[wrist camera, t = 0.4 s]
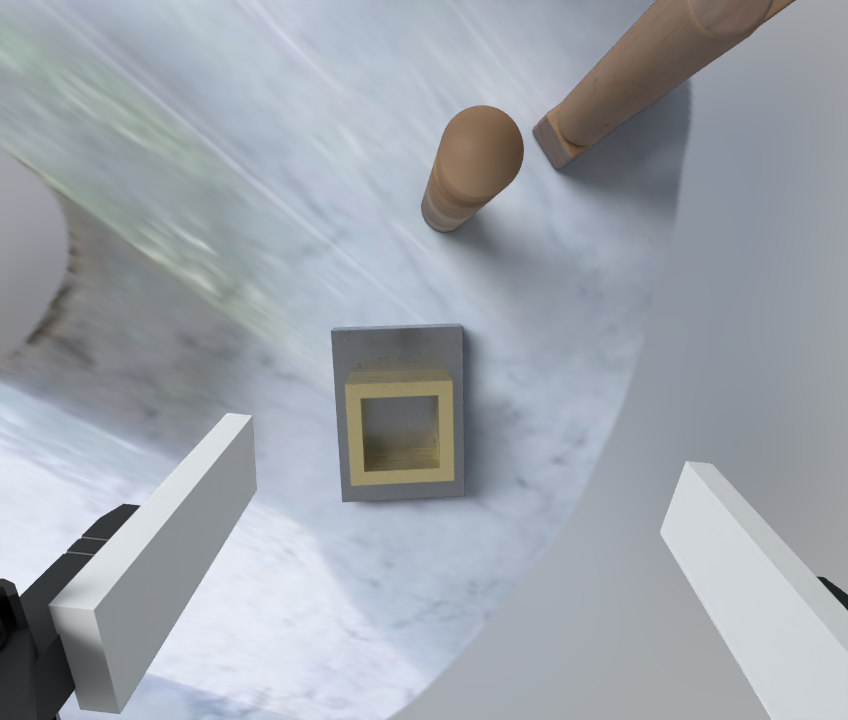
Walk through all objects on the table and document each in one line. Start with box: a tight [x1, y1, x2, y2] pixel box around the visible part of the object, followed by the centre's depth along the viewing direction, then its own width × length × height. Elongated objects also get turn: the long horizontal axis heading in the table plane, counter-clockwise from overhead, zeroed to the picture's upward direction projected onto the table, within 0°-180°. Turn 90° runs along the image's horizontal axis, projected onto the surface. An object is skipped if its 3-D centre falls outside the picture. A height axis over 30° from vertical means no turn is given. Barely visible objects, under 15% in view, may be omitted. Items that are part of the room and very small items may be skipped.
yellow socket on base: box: [331, 324, 465, 502], centre depth 35 cm, size 14×10×6 cm
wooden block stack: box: [532, 0, 795, 170], centre depth 25 cm, size 4×11×18 cm, turn 126°
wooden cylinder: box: [421, 105, 524, 232], centre depth 27 cm, size 4×4×16 cm
